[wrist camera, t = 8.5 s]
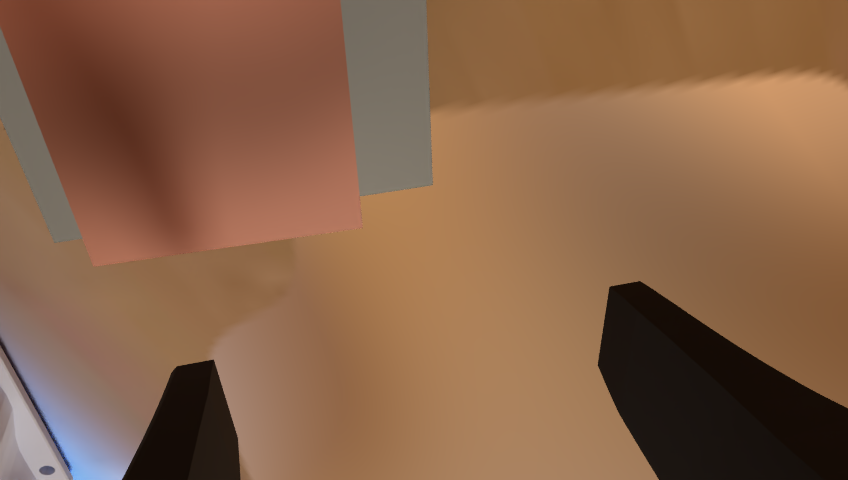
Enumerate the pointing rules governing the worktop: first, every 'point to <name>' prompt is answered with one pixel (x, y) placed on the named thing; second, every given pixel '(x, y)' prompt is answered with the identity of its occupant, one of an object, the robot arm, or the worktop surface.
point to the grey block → (369, 96)
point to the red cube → (191, 119)
